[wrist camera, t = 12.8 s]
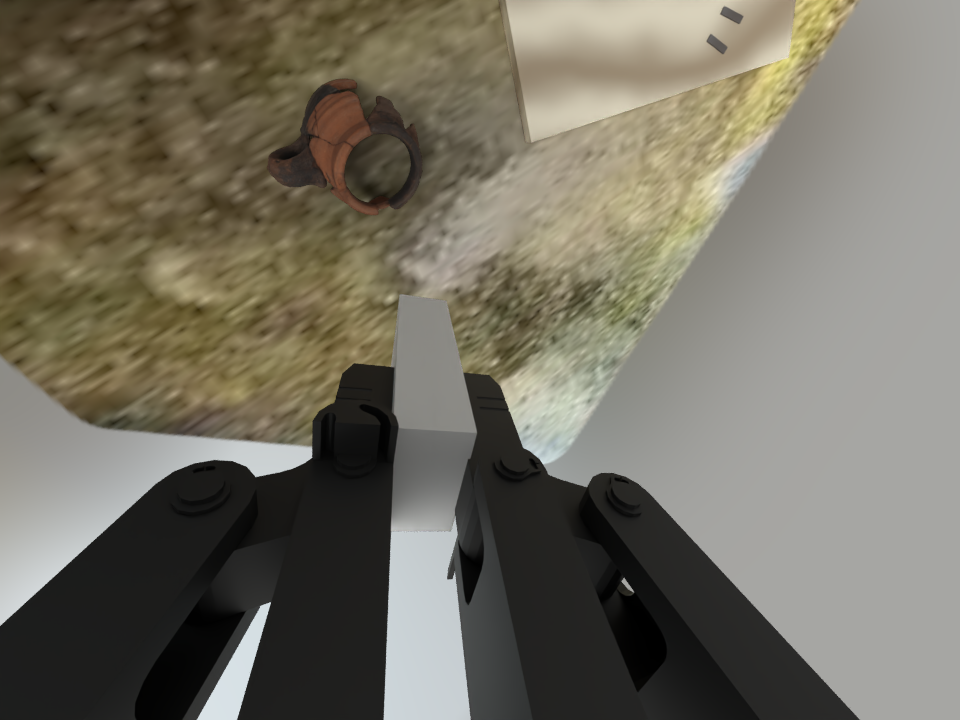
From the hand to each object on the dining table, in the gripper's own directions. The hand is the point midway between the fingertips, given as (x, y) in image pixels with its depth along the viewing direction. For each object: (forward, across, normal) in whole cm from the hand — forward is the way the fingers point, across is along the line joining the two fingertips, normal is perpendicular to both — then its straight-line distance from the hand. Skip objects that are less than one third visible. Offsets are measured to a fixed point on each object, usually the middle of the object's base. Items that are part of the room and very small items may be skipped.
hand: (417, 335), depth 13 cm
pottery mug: (+29, -6, +4) cm, 29 cm away
